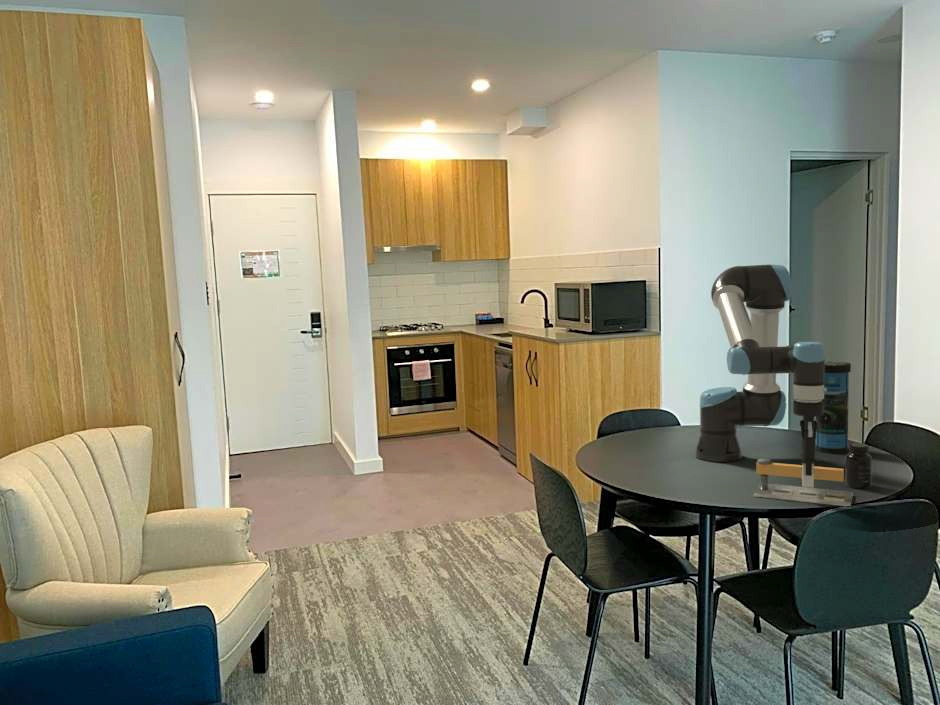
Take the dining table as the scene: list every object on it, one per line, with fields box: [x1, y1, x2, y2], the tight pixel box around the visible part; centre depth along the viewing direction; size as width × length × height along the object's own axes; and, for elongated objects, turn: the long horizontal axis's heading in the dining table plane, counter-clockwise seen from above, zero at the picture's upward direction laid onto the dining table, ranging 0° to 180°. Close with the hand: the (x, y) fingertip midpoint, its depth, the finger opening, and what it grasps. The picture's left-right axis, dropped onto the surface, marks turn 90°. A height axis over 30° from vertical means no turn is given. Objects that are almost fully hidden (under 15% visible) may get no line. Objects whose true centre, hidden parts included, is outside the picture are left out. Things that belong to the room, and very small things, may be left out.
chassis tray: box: [753, 474, 854, 507], centre depth 204 cm, size 24×11×5 cm, turn 60°
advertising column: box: [815, 361, 852, 454], centre depth 252 cm, size 11×11×30 cm
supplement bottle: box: [844, 442, 873, 490], centre depth 211 cm, size 7×7×12 cm
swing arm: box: [755, 458, 845, 483], centre depth 204 cm, size 22×4×4 cm, turn 60°
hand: (808, 486), depth 199 cm, fingers closed
